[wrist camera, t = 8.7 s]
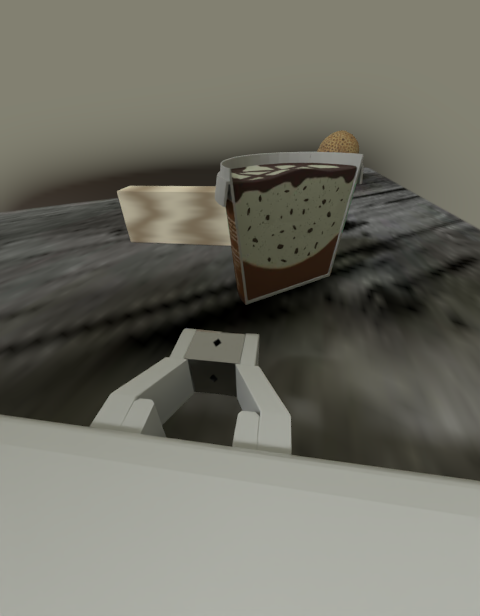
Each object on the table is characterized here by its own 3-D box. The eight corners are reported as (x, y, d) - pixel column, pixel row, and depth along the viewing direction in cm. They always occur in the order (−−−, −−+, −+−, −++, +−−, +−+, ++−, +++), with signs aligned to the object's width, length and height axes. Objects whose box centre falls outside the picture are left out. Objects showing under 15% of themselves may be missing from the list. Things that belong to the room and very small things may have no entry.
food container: (300, 250, 30) (312, 148, 24) (341, 271, 25) (368, 153, 19) (200, 278, 25) (185, 159, 19) (229, 310, 21) (221, 169, 15)
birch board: (131, 241, 33) (116, 191, 29) (141, 233, 35) (129, 185, 32) (290, 248, 30) (295, 193, 27) (290, 238, 33) (295, 187, 29)
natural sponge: (343, 186, 57) (354, 131, 51) (306, 182, 61) (312, 131, 55) (357, 180, 62) (368, 129, 56) (322, 176, 67) (329, 129, 61)
